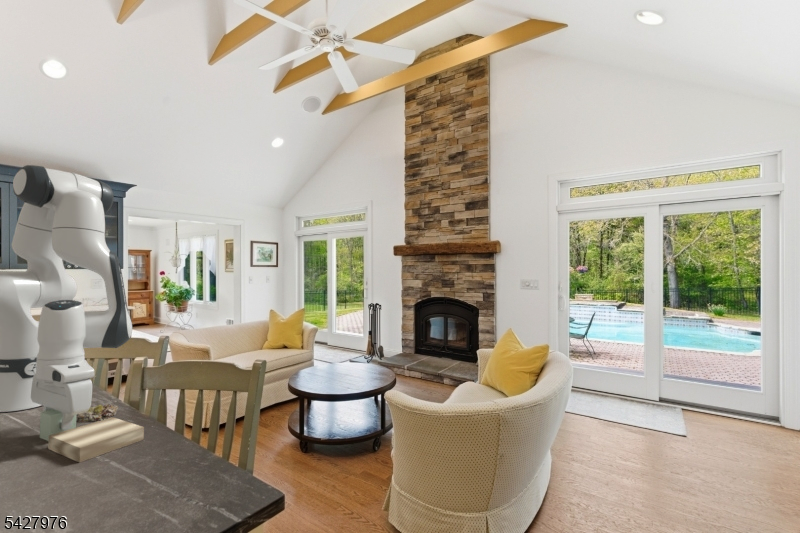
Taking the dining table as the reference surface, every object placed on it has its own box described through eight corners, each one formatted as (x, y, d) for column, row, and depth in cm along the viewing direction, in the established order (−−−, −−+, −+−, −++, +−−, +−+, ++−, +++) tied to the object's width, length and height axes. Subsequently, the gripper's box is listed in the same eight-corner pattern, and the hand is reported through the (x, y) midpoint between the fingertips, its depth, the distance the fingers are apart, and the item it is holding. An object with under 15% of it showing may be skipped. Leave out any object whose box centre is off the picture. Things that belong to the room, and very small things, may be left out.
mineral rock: (115, 401, 114) (119, 400, 108) (115, 417, 113) (120, 417, 108) (66, 411, 107) (68, 410, 101) (66, 427, 106) (68, 428, 100)
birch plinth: (48, 449, 88) (48, 435, 88) (112, 429, 100) (112, 417, 100) (79, 462, 82) (80, 448, 82) (143, 439, 94) (144, 427, 94)
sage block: (39, 437, 94) (40, 412, 94) (65, 430, 98) (66, 406, 98) (50, 441, 91) (51, 415, 92) (75, 434, 96) (76, 409, 96)
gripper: (23, 365, 97) (20, 422, 97) (66, 376, 88) (64, 439, 88) (54, 360, 103) (52, 414, 102) (98, 371, 94) (96, 429, 93)
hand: (58, 426), depth 95 cm, fingers closed on sage block, 5 cm apart
